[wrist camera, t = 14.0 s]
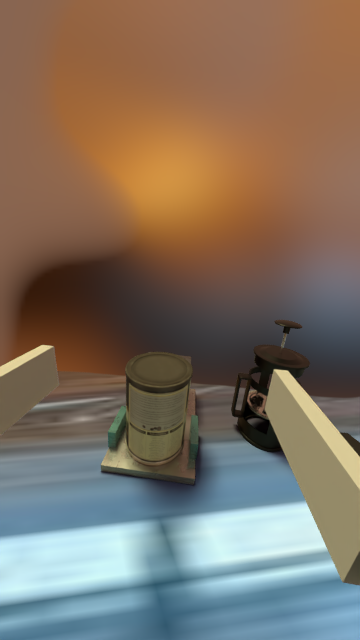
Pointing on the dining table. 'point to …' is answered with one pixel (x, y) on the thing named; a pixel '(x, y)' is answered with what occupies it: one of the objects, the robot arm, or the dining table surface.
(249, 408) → the french press
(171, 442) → the coffee can
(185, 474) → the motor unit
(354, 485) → the robot arm
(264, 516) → the dining table surface
